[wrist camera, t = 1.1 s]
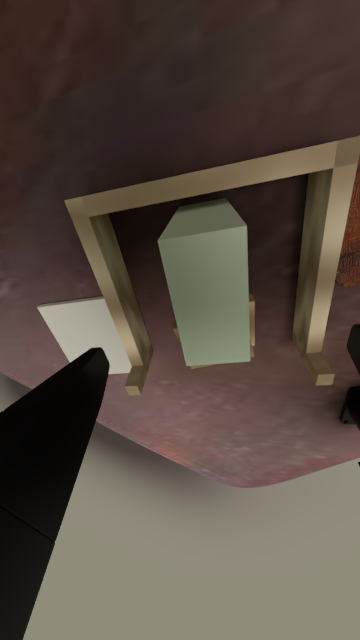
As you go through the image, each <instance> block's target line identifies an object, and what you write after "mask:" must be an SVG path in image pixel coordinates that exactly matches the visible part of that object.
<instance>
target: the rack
mask: <svg viewBox="0 0 360 640" xmlns="http://www.w3.org/2000/svg"><path fill="white" fill-rule="evenodd" d="M359 155H360V136H357V137H353V138H348V139H343V140H338V141H333V142H329V143H324V144H320V145H315V146H310V147H306V148H301V149H297V150H292V151H288V152H283V153H278V154H274V155H269V156H265V157H260V158H255V159H251V160H246V161H242V162H237V163H233V164H228V165H223V166H219V167H214V168H210V169H205V170H201V171H196V172H191V173H187V174H182V175H178V176H173V177H169V178H164V179H159V180H155V181H150V182H146V183H141V184H136V185H132V186H127V187H123V188H118V189H114V190H109V191H104V192H100V193H95V194H91V195H86V196H82V197H77V198H73V199H69V200H64V201H65V204H66V206H67V209H68V211H69V214H70V216H71V218H72V221H73V223H74V226H75V228H76V231H77V233H78V236H79V238H80V241H81V243H82V245H83V248H84V250H85V253H86V255H87V258H88V260H89V263H90V265H91V268H92V270H93V272H94V275H95V277H96V280H97V282H98V285H99V287H100V290H101V292H102V294H103V297H104V299H105V302H106V304H107V307H108V309H109V312H110V314H111V317H112V319H113V321H114V324H115V326H116V329H117V331H118V334H119V336H120V339H121V341H122V344H123V346H124V348H125V351H126V353H127V356H128V358H129V361H130V363H131V366H132V368H131V370H130V373H129V376H128V379H127V381H126V384H125V388H126V391H127V393H128V395H141V393H142V389H143V386H144V382H145V378H146V375H147V371H148V368H149V364H150V360H151V357H152V353H153V350H152V346H151V343H150V340H149V337H148V334H147V331H146V328H145V325H144V322H143V319H142V316H141V312H140V309H139V306H138V303H137V300H136V297H135V294H134V291H133V288H132V285H131V282H130V278H129V275H128V272H127V269H126V266H125V263H124V260H123V257H122V254H121V251H120V248H119V244H118V241H117V238H116V235H115V232H114V229H113V226H112V223H111V220H110V217H109V214H108V213H112V212H117V211H122V210H126V209H131V208H136V207H141V206H146V205H151V204H156V203H161V202H166V201H171V200H176V199H181V198H186V197H191V196H196V195H201V194H206V193H211V192H216V191H221V190H226V189H231V188H236V187H241V186H246V185H251V184H256V183H261V182H266V181H271V180H276V179H281V178H286V177H291V176H296V175H301V174H306V173H309V174H308V184H307V194H306V204H305V214H304V224H303V234H302V244H301V254H300V264H299V274H298V284H297V294H296V304H295V314H294V324H293V334H292V340H293V342H294V344H295V346H296V348H297V350H298V352H299V354H300V355H301V357H302V359H303V361H304V363H305V365H306V367H307V369H308V371H309V373H310V375H311V377H312V379H313V380H314V382H315V384H316V385H332V384H333V380H334V376H335V373H334V371H333V370H332V368H331V367H330V365H329V364H328V362H327V361H326V359H325V357H324V356H323V354H322V353H321V350H322V345H323V340H324V335H325V330H326V324H327V319H328V314H329V309H330V304H331V299H332V294H333V288H334V283H335V278H336V273H337V268H338V263H339V258H340V252H341V247H342V242H343V237H344V232H345V227H346V221H347V216H348V211H349V206H350V201H351V196H352V191H353V185H354V180H355V175H356V170H357V165H358V160H359Z"/></svg>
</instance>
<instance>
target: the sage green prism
mask: <svg viewBox="0 0 360 640" xmlns="http://www.w3.org/2000/svg"><path fill="white" fill-rule="evenodd" d="M158 245H159V250H160V254H161V258H162V263H163V267H164V271H165V276H166V280H167V284H168V288H169V293H170V297H171V301H172V306H173V310H174V314H175V319H176V323H177V327H178V332H179V336H180V340H181V345H182V349H183V353H184V358H185V362H186V366H195V365H209V364H222V363H236V362H250V328H249V288H248V248H247V225H246V224H245V222H244V221H243V220H242V218H241V217H240V216H239V215H238V213H237V212H236V211H235V209H234V208H233V207H232V205H231V204H230V203H229V201H228V200H227V199H226V198H221V199H216V200H211V201H205V202H200V203H195V204H190V205H185V206H180V207H179V208H178V209H177V211H176V212H175V214H174V216H173V217H172V219H171V220H170V222H169V223H168V225H167V227H166V228H165V230H164V231H163V233H162V234H161V236H160V238H159V239H158Z"/></svg>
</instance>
